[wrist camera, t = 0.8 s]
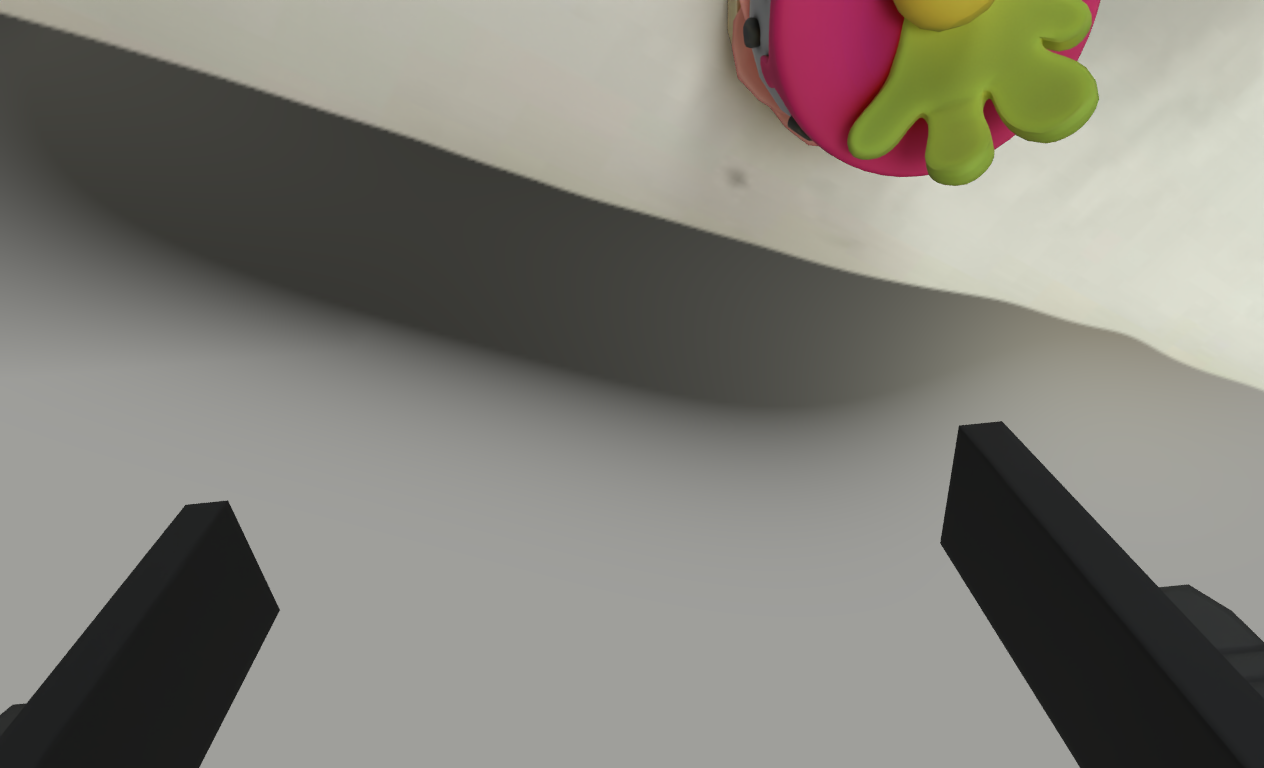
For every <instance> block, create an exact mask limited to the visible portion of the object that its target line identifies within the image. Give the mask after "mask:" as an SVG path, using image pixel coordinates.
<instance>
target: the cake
mask: <svg viewBox="0 0 1264 768" xmlns="http://www.w3.org/2000/svg"><path fill="white" fill-rule="evenodd" d="M1099 4H1100V0H728V22H727V30H728V34H729V37H730V41H731V45H732V50H733V55H734V61H735V66H736V71H737V77H738V79H739V80H740V81H741V82H742V83H743V84H744V85H745V86H746V87H747V88H748V89H749V90H750V91H751V93H752V94H753V95H754V96H755V97H756V98H757V99H758V100H759V101H761V102H762V103H764V104H766V105H767V106H769V107H770V108H771V109H772V111H773V112H774V113H775V114H776V116H777V117H778V118H779V120H780V121H781V122H782V124H783V125H784V126H785V127H786V128H787V129H788V130H790V131H791V132H792V133H793V134H795V135H796V136H797V137H799V138H800V139H801V140H802V141H804V142H805V143H806V144H808V145H812V146H819V147H821V148H822V149H823V150H824V151H826V152H827V153H829V154H830V155H832V156H834V157H836V158H837V159H839V160H841V161H843V162H845V163H846V164H848V165H851V166H853V167H856V168H858V169H861V170H864V171H867V172H871V173H875V174H879V175H885V176H896V177H911V176H924V175H929V176H930V177H931V178H932V179H933V180H934V181H936V182H937V183H941V184H944V185H952V186H957V185H964V184H968V183H970V182H972V181H974V180H976V179H977V178H978V177H980V176H981V175H982V174H983V173H984V172H985V171H986V170H987V169H988V167H989V166H990V165H991V163H992V161H993V158H994V150H995V149H996V148H998V147H999V146H1001V145H1002V144H1004V143H1005V142H1007V141H1008V140H1010V139H1011V138H1012V137H1013V136H1014V135H1017V136H1019V137H1021V138H1023V139H1025V140H1027V141H1033V142H1040V143H1051V142H1056V141H1058V140H1061V139H1064V138H1066V137H1068V136H1070V135H1071V134H1073V133H1075V132H1076V131H1077V130H1079V129H1080V128H1081V127H1082V126H1083V125H1084V124H1085V123H1086V122H1087V121H1088V120H1089V118H1090V117H1091V115H1092V114H1093V112H1094V111H1095V109H1096V106H1097V103H1098V100H1099V96H1098V89H1097V84H1096V81H1095V79H1094V78H1093V76H1092V75H1091V74H1090V72H1089V71H1088V70H1087V68H1086V67H1084V66H1083V65H1082V64H1080V63H1079V62H1077V60H1078V58H1079V56H1080V54H1081V52H1082V50H1083V48H1084V46H1085V44H1086V42H1087V39H1088V37H1089V34H1090V32H1091V29H1092V26H1093V24H1094V21H1095V18H1096V14H1097V11H1098V7H1099Z"/></svg>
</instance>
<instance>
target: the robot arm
mask: <svg viewBox="0 0 1264 768" xmlns="http://www.w3.org/2000/svg"><path fill="white" fill-rule="evenodd" d="M940 543H941V545H942V547H943V548H944V550H945V552H946V553H947V555H948V556H949V558H950V560H951V561H952V563H953V564H954V566H955V567H956V569H957V571H958V572H959V574H960V575H961V577H962V579H963V580H964V582H965V584H966V585H967V587H968V588H969V590H970V592H971V593H972V595H973V596H974V598H975V600H976V601H977V603H978V604H979V606H980V607H981V609H982V611H983V612H984V614H985V616H986V617H987V619H988V620H989V622H990V624H991V625H992V627H993V629H994V630H995V631H996V633H997V635H998V636H999V638H1000V640H1001V641H1002V643H1003V644H1004V646H1005V648H1006V649H1007V651H1008V652H1009V654H1010V656H1011V657H1012V659H1013V661H1014V662H1015V664H1016V665H1017V667H1018V669H1019V670H1020V672H1021V673H1022V675H1023V676H1024V678H1025V680H1026V681H1027V683H1028V684H1029V686H1030V688H1031V689H1032V691H1033V692H1034V694H1035V696H1036V697H1037V699H1038V701H1039V702H1040V704H1041V705H1042V707H1043V709H1044V710H1045V712H1046V714H1047V715H1048V717H1049V718H1050V719H1051V721H1052V723H1053V725H1054V726H1055V728H1056V730H1057V731H1058V733H1059V734H1060V736H1061V738H1062V739H1063V741H1064V742H1065V744H1066V746H1067V747H1068V749H1069V750H1070V752H1071V754H1072V755H1073V757H1074V758H1075V760H1076V762H1077V763H1078V765H1079V766H1080V768H1264V642H1263V641H1262V640H1261V639H1260V638H1259V637H1258V636H1257V635H1256V634H1255V633H1254V632H1253V631H1252V630H1251V629H1250V628H1249V627H1248V626H1247V625H1246V624H1244V622H1243V621H1242V620H1241V619H1239V618H1238V617H1237V616H1236V615H1235V614H1234V613H1233V612H1232V611H1231V610H1229V609H1228V608H1226V607H1224V606H1223V605H1221V604H1219V603H1218V602H1216V601H1215V600H1213V599H1211V598H1210V597H1208V596H1206V595H1205V594H1203V593H1201V592H1200V591H1198V590H1197V589H1195V588H1193V587H1191V586H1190V585H1179V586H1169V587H1158V586H1157V585H1156V584H1155V583H1154V582H1153V581H1152V580H1151V579H1150V578H1149V577H1148V576H1147V575H1146V574H1145V573H1144V571H1143V570H1142V569H1141V568H1140V567H1139V566H1138V565H1137V564H1136V563H1135V562H1134V561H1133V560H1132V559H1131V558H1130V557H1129V555H1128V554H1127V553H1126V552H1125V551H1124V550H1123V549H1122V548H1121V547H1120V546H1119V545H1118V544H1117V543H1116V542H1115V541H1114V540H1113V538H1111V536H1110V535H1109V534H1108V533H1107V532H1106V531H1105V530H1104V529H1103V528H1102V527H1101V526H1100V525H1099V524H1098V523H1097V522H1096V520H1095V519H1094V518H1093V517H1092V516H1091V515H1090V514H1089V513H1088V512H1087V511H1086V510H1085V509H1084V508H1083V507H1082V506H1081V505H1080V504H1079V502H1078V501H1077V500H1075V498H1074V497H1073V496H1072V495H1071V494H1070V493H1069V492H1068V491H1067V490H1066V489H1065V488H1064V487H1063V486H1062V484H1061V483H1060V482H1059V481H1058V480H1057V479H1056V478H1055V477H1054V476H1053V475H1052V474H1051V473H1050V472H1049V471H1048V470H1047V469H1046V468H1045V466H1044V465H1043V464H1042V463H1041V462H1040V461H1039V460H1038V459H1037V458H1036V457H1035V456H1034V455H1033V454H1032V453H1031V452H1030V451H1029V450H1028V448H1027V447H1026V446H1025V445H1024V444H1023V443H1022V442H1021V441H1020V440H1019V439H1018V438H1017V437H1016V436H1015V435H1014V434H1013V433H1012V431H1011V430H1010V429H1009V428H1008V427H1007V426H1006V425H1005V424H1004V423H1003V422H1002V421H1000V422H991V423H981V424H971V425H962V426H959V430H958V435H957V442H956V448H955V454H954V460H953V467H952V473H951V479H950V486H949V492H948V498H947V505H946V510H945V517H944V523H943V530H942V536H941V542H940ZM279 611H280V609H279V607H278V605H277V603H276V601H275V599H274V597H273V595H272V593H271V591H270V588H269V587H268V584H267V582H266V580H265V578H264V576H263V574H262V571H261V569H260V567H259V565H258V563H257V561H256V559H255V557H254V555H253V553H252V550H251V548H250V546H249V544H248V542H247V540H246V538H245V536H244V533H243V531H242V529H241V527H240V525H239V523H238V521H237V519H236V517H235V514H234V512H233V510H232V508H231V506H230V504H229V502H228V501H219V502H210V503H200V504H190V505H185V506H184V508H183V509H182V510H181V512H180V513H179V514H178V515H177V516H176V518H175V519H174V520H173V521H172V523H171V524H170V525H169V526H168V528H167V529H166V530H165V531H164V533H163V534H162V535H161V536H160V538H159V539H158V540H157V542H156V543H155V544H154V545H153V546H152V548H151V549H150V550H149V551H148V553H147V554H146V555H145V556H144V558H143V559H142V560H141V561H140V563H139V564H138V565H137V566H136V568H135V569H134V570H133V572H132V573H131V574H130V575H129V576H128V578H127V579H126V580H125V581H124V583H123V584H122V585H121V586H120V588H119V589H118V590H117V591H116V593H115V594H114V595H113V596H112V598H111V599H110V600H109V601H108V603H107V604H106V605H105V606H104V608H103V609H102V610H101V612H100V613H99V614H98V615H97V616H96V618H95V619H94V620H93V621H92V623H91V624H90V625H89V626H88V628H87V629H86V630H85V631H84V633H83V634H82V635H81V636H80V638H79V639H78V640H77V641H76V643H75V644H74V645H73V646H72V648H71V649H70V650H69V651H68V653H67V654H66V655H65V656H64V658H63V659H62V660H61V661H60V663H59V664H58V665H57V666H56V668H55V669H54V670H53V671H52V673H51V674H50V675H49V676H48V678H47V679H46V680H45V681H44V683H43V684H42V685H41V686H40V688H39V689H38V690H37V691H36V693H35V694H34V695H33V696H32V698H31V699H30V700H29V701H28V703H27V704H16V705H12V706H11V707H9V708H8V709H7V710H6V711H5V712H3V713H2V714H1V715H0V768H199V767H200V765H201V763H202V761H203V759H204V757H205V755H206V753H207V751H208V749H209V747H210V745H211V743H212V741H213V740H214V738H215V736H216V733H217V732H218V730H219V728H220V726H221V724H222V722H223V720H224V718H225V716H226V714H227V712H228V710H229V708H230V706H231V704H232V702H233V700H234V699H235V696H236V695H237V692H238V691H239V689H240V687H241V685H242V683H243V681H244V679H245V677H246V675H247V673H248V671H249V669H250V667H251V665H252V663H253V661H254V659H255V658H256V656H257V654H258V652H259V650H260V648H261V646H262V644H263V642H264V640H265V638H266V636H267V634H268V632H269V630H270V628H271V626H272V624H273V622H274V620H275V618H276V616H277V614H278V612H279Z"/></svg>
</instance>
